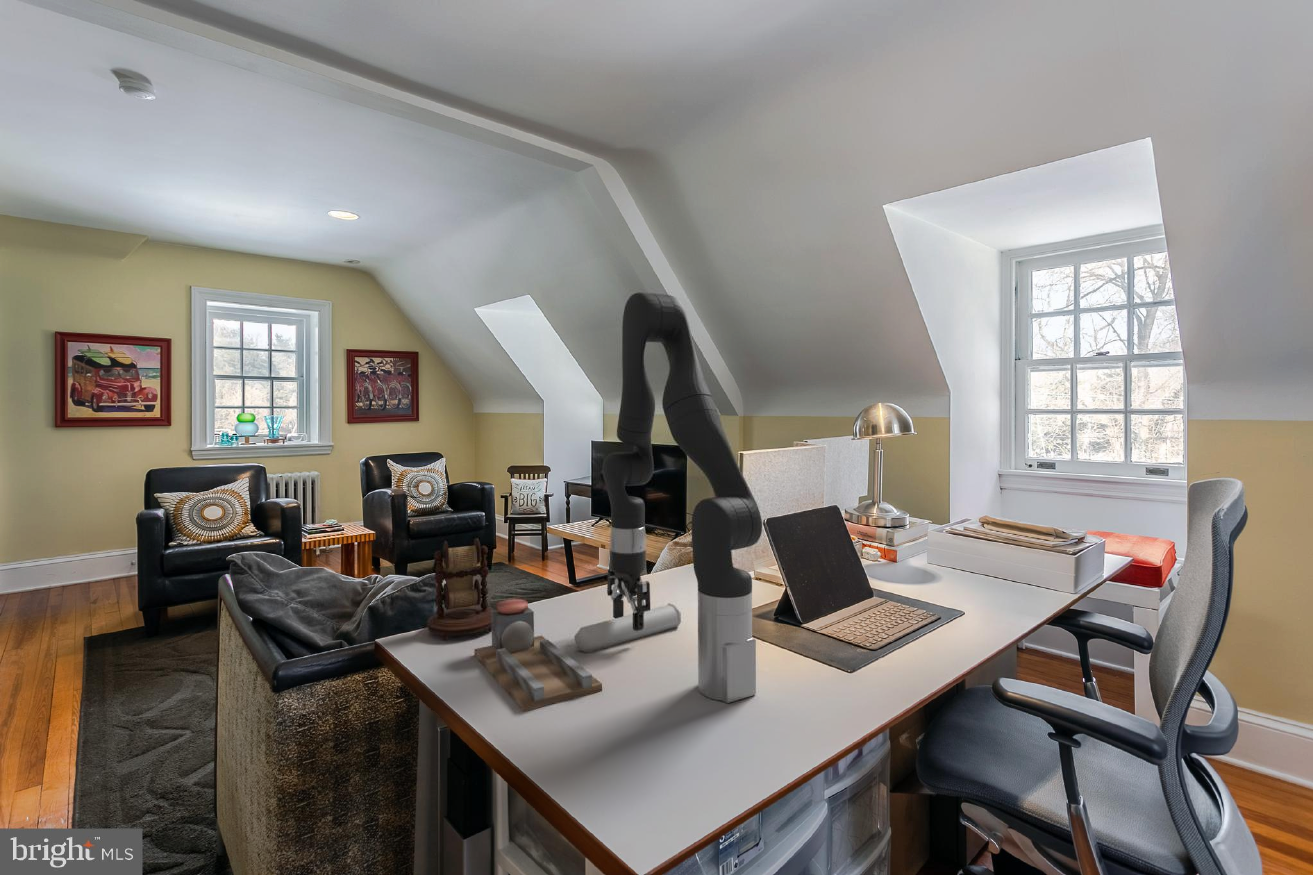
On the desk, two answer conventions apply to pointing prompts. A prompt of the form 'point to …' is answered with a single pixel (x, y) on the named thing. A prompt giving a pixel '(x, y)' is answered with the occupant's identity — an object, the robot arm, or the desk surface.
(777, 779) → the desk surface
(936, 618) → the desk surface
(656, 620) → the tube
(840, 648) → the desk surface
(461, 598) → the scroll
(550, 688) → the pipe rack
